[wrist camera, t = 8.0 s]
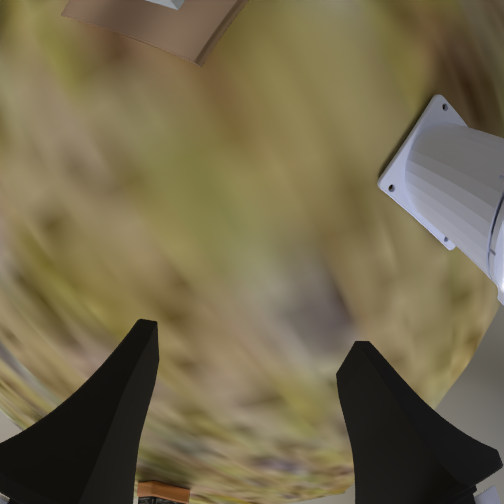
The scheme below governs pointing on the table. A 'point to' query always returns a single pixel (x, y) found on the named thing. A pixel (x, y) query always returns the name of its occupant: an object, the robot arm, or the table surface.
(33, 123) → the table surface
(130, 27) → the walnut block
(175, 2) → the slate block
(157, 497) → the whiskey bottle
